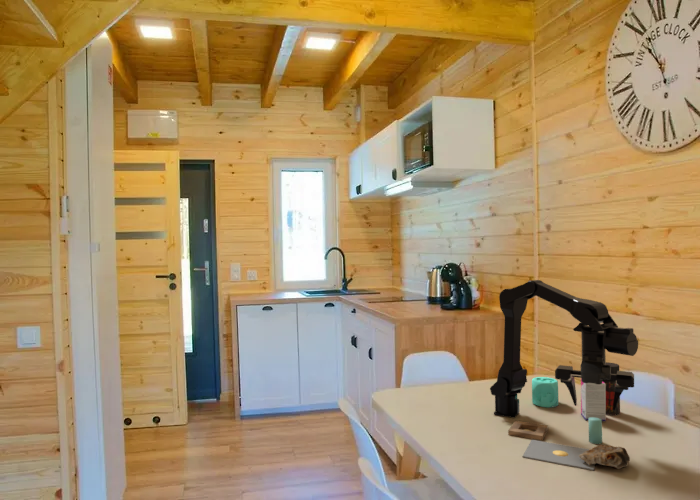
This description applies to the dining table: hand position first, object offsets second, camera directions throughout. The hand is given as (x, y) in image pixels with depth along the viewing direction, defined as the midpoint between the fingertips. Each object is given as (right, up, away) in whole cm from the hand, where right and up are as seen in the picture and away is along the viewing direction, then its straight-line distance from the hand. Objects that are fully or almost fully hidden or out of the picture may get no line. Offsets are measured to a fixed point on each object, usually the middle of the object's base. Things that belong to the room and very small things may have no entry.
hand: (594, 407), depth 132 cm
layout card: (-12, -9, -8) cm, 17 cm away
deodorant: (+16, -9, +23) cm, 29 cm away
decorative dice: (0, -9, +33) cm, 34 cm away
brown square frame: (-15, -9, +8) cm, 19 cm away
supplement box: (+9, -9, +18) cm, 22 cm away
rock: (-4, -9, -14) cm, 17 cm away
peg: (0, -9, 0) cm, 9 cm away
